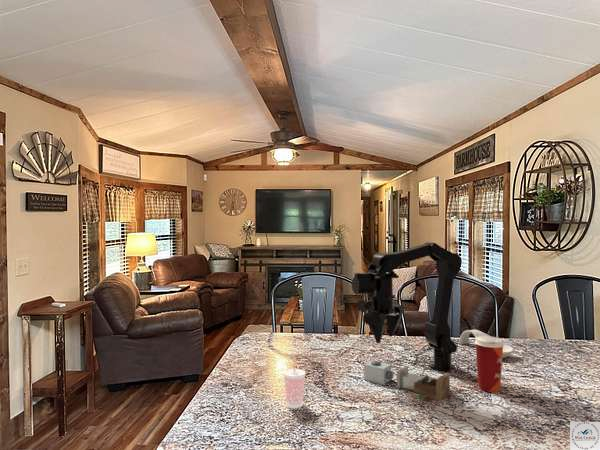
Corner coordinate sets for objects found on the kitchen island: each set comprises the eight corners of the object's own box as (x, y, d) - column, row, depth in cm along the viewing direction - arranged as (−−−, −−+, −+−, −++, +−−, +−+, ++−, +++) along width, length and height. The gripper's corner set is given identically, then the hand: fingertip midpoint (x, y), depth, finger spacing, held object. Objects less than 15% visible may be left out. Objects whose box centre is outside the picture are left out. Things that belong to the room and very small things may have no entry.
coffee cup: (507, 394, 130) (507, 343, 130) (477, 392, 132) (477, 341, 131) (500, 384, 138) (500, 335, 138) (472, 382, 140) (472, 334, 140)
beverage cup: (284, 400, 127) (283, 350, 126) (305, 400, 126) (305, 350, 126) (282, 409, 121) (282, 357, 120) (305, 409, 120) (305, 357, 120)
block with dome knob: (371, 375, 147) (371, 358, 147) (395, 381, 141) (395, 364, 141) (363, 379, 143) (363, 362, 143) (387, 386, 137) (388, 368, 137)
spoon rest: (520, 359, 163) (520, 339, 163) (495, 363, 159) (495, 343, 159) (473, 342, 186) (473, 325, 185) (450, 345, 181) (450, 327, 181)
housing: (421, 385, 137) (421, 367, 137) (449, 392, 132) (449, 373, 132) (407, 396, 129) (407, 377, 129) (436, 403, 124) (436, 383, 124)
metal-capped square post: (405, 382, 140) (405, 366, 140) (434, 389, 134) (434, 373, 134) (394, 389, 134) (394, 373, 134) (424, 397, 128) (424, 380, 128)
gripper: (374, 286, 159) (375, 330, 159) (347, 294, 144) (348, 342, 144) (404, 288, 152) (405, 334, 152) (379, 297, 137) (380, 348, 137)
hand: (384, 339), depth 147 cm, fingers open, 9 cm apart
